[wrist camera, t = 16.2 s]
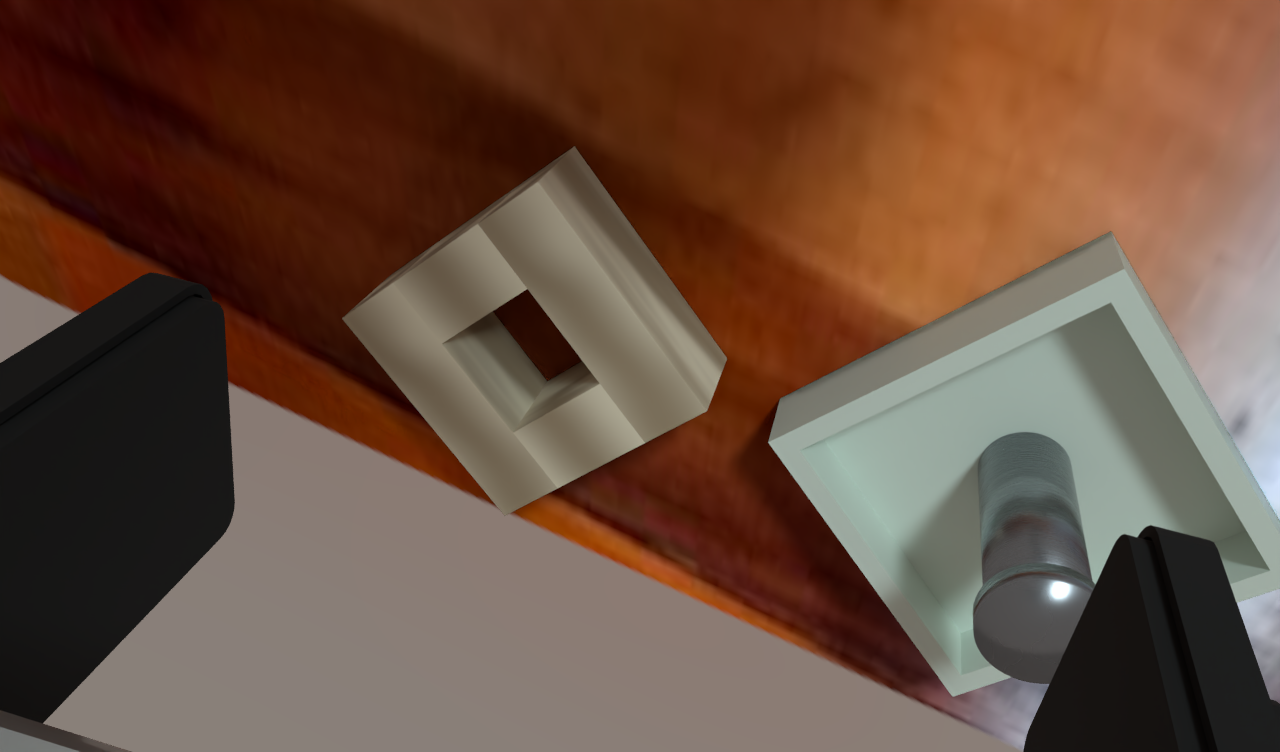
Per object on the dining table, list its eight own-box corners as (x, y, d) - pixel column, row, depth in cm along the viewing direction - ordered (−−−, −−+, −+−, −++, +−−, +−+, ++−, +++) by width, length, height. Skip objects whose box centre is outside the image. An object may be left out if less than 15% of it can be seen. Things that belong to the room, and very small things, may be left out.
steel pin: (1048, 406, 48) (1073, 561, 38) (1101, 489, 49) (1138, 659, 39) (948, 451, 50) (948, 607, 40) (1001, 529, 51) (1013, 699, 42)
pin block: (574, 146, 48) (538, 181, 44) (727, 358, 51) (707, 410, 47) (390, 275, 54) (341, 318, 50) (538, 460, 57) (504, 515, 53)
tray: (1111, 231, 44) (1124, 268, 41) (1281, 523, 49) (1306, 579, 45) (780, 398, 52) (768, 442, 48) (952, 640, 56) (952, 696, 52)
